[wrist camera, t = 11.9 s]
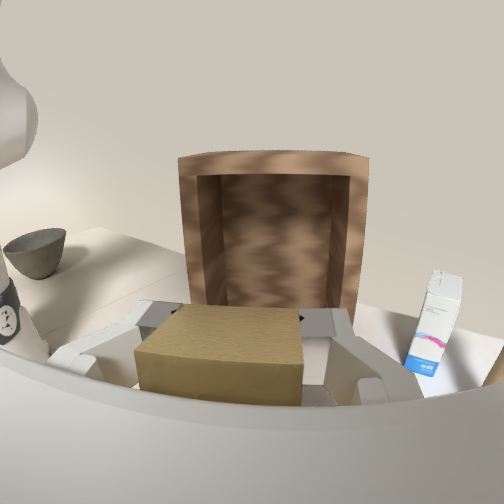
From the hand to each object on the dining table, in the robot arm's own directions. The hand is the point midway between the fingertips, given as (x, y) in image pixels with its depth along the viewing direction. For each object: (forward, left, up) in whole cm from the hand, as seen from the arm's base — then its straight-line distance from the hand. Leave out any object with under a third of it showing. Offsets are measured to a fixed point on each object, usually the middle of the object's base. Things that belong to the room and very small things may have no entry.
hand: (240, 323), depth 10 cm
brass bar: (0, -6, -10) cm, 12 cm away
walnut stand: (0, +30, -22) cm, 37 cm away
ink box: (+22, +23, -22) cm, 39 cm away
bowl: (-60, +44, -22) cm, 78 cm away
